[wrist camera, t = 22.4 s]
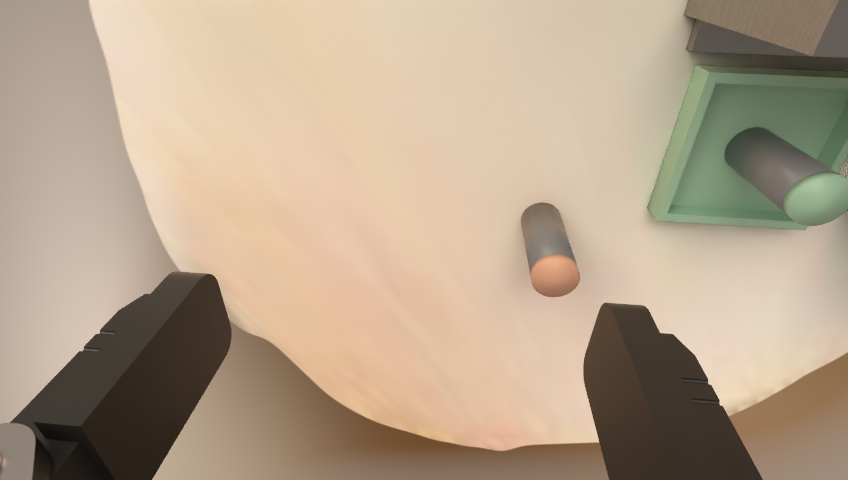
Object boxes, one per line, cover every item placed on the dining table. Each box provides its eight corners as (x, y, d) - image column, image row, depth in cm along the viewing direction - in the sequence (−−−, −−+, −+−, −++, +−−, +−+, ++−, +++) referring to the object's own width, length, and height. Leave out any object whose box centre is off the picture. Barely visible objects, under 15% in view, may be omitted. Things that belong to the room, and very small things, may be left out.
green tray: (696, 65, 37) (709, 72, 35) (868, 72, 37) (892, 80, 34) (647, 207, 45) (655, 220, 43) (789, 216, 44) (805, 229, 42)
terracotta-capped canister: (523, 201, 46) (535, 258, 37) (563, 204, 45) (584, 261, 37) (518, 234, 48) (528, 295, 40) (556, 237, 48) (574, 298, 39)
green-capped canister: (735, 126, 39) (806, 174, 31) (782, 128, 39) (867, 178, 31) (717, 168, 41) (779, 224, 33) (762, 170, 41) (836, 227, 33)
